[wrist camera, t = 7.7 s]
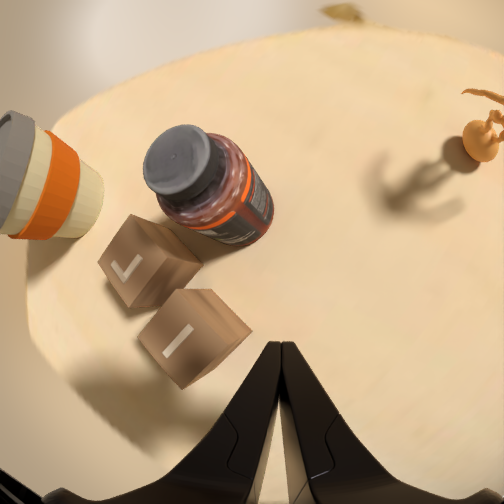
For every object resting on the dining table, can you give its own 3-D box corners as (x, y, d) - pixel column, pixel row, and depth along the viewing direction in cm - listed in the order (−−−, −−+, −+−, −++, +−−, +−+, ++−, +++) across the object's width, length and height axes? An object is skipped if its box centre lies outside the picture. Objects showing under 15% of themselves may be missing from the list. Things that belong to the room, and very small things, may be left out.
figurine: (504, 159, 17) (564, 101, 6) (495, 205, 17) (572, 156, 6) (443, 114, 19) (482, 32, 8) (428, 156, 20) (480, 72, 8)
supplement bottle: (257, 169, 24) (206, 89, 13) (288, 226, 22) (252, 170, 11) (199, 201, 25) (120, 148, 14) (224, 260, 23) (143, 236, 12)
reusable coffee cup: (102, 259, 27) (-17, 237, 13) (48, 246, 30) (-40, 228, 16) (126, 152, 28) (31, 91, 14) (68, 161, 32) (-9, 123, 17)
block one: (213, 370, 22) (178, 392, 16) (175, 329, 24) (133, 339, 18) (252, 330, 22) (227, 345, 16) (211, 289, 23) (174, 288, 17)
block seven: (168, 306, 24) (125, 310, 18) (138, 269, 26) (94, 264, 20) (203, 264, 24) (165, 257, 18) (170, 229, 25) (128, 213, 19)
